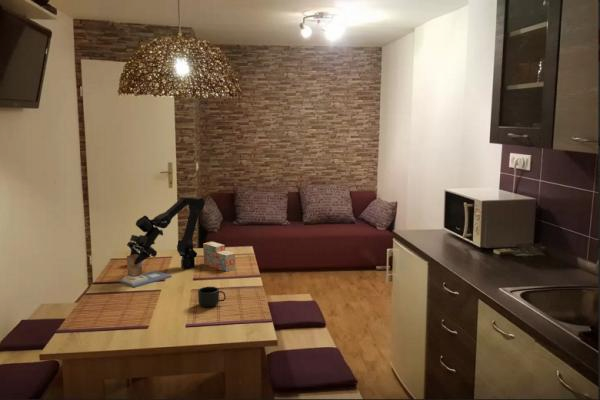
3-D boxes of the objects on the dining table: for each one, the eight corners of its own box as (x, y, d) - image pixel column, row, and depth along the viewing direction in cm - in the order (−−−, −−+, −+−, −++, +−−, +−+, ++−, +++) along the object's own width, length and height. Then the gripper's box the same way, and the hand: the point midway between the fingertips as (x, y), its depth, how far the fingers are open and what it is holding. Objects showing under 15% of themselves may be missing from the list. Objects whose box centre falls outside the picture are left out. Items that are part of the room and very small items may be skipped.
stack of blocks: (235, 269, 277) (235, 247, 275) (226, 272, 273) (225, 249, 271) (212, 261, 292) (212, 241, 290) (203, 264, 288) (202, 242, 286)
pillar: (136, 273, 258) (135, 254, 257) (142, 275, 255) (141, 255, 253) (127, 275, 254) (126, 256, 253) (133, 277, 251) (132, 257, 250)
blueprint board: (155, 271, 273) (155, 267, 272) (171, 276, 264) (171, 272, 263) (118, 281, 256) (118, 277, 255) (134, 287, 247) (134, 282, 247)
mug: (196, 309, 220) (196, 293, 219) (200, 301, 229) (199, 286, 228) (224, 308, 220) (224, 293, 219) (227, 301, 229) (226, 286, 228)
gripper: (129, 225, 260) (110, 251, 253) (150, 231, 248) (131, 257, 241) (143, 238, 267) (125, 263, 260) (164, 243, 255) (147, 269, 249)
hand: (132, 263), depth 253 cm, fingers closed on pillar, 5 cm apart
